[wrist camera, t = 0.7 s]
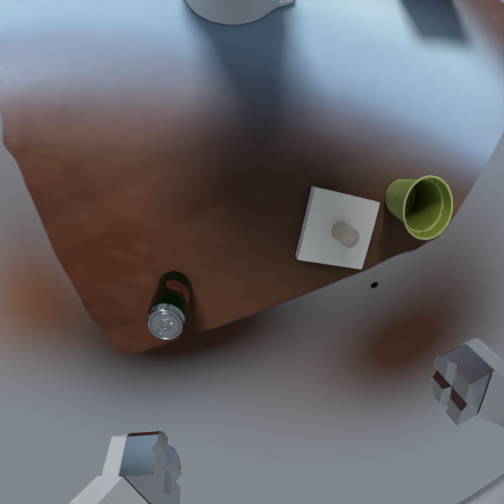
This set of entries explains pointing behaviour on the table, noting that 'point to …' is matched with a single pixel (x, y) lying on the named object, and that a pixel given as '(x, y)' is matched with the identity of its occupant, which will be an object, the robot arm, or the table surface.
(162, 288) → the soda can
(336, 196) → the lid
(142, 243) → the table surface
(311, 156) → the table surface
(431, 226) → the plant pot
